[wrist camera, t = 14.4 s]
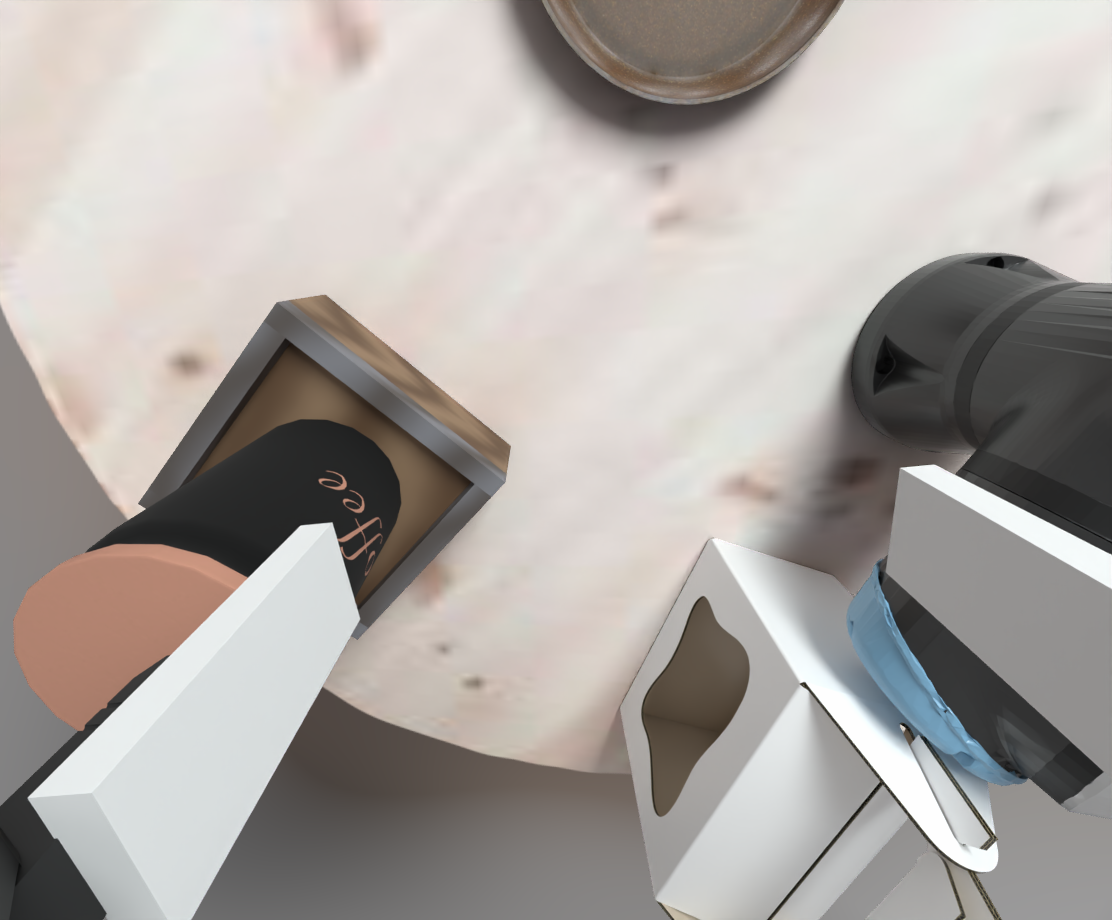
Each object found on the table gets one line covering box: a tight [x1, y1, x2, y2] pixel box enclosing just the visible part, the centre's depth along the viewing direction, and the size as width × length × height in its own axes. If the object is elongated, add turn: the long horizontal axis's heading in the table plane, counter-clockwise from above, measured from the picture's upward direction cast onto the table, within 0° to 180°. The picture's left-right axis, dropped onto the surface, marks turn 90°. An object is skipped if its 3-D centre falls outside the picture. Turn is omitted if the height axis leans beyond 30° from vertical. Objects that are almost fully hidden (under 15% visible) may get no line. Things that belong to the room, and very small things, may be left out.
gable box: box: [620, 538, 1002, 920], centre depth 38 cm, size 22×13×28 cm, turn 160°
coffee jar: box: [13, 419, 401, 731], centre depth 28 cm, size 11×11×18 cm
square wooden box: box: [138, 295, 511, 640], centre depth 39 cm, size 18×18×8 cm
